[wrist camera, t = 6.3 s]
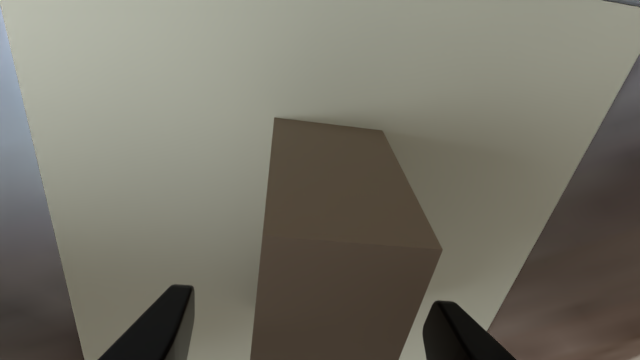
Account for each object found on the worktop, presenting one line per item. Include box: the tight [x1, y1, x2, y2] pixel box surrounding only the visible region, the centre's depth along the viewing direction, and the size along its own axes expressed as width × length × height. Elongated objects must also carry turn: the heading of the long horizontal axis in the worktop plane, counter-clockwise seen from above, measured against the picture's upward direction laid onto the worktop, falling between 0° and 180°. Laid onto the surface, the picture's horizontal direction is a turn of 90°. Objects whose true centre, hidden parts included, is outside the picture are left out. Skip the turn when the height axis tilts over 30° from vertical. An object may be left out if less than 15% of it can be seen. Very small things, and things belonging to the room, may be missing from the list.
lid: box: [0, 0, 640, 360], centre depth 9 cm, size 12×12×5 cm
